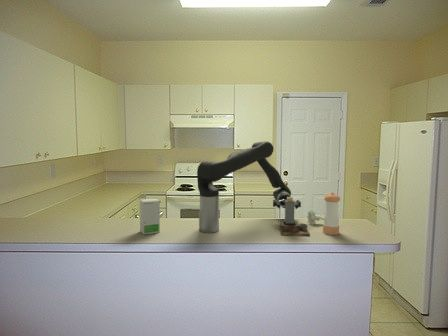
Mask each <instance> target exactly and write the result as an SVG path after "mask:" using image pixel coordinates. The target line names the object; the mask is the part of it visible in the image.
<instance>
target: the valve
mask: <svg viewBox="0 0 448 336" xmlns="http://www.w3.org/2000/svg"><path fill="white" fill-rule="evenodd" d="M316 212H317V211H315V210H308V211H307V224H308V223H309V225H315V224H316V221H320V220H323V221H324V216H325V215H321V216H320V215H319V214H317V213H316Z"/></svg>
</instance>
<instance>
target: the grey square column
mask: <svg viewBox="0 0 448 336" xmlns="http://www.w3.org/2000/svg"><path fill="white" fill-rule="evenodd" d="M294 201H295V200H294V198H293V196H291V197H287V200H285V208H284V221H285V224H284V225H294V221H295V202H294Z"/></svg>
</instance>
